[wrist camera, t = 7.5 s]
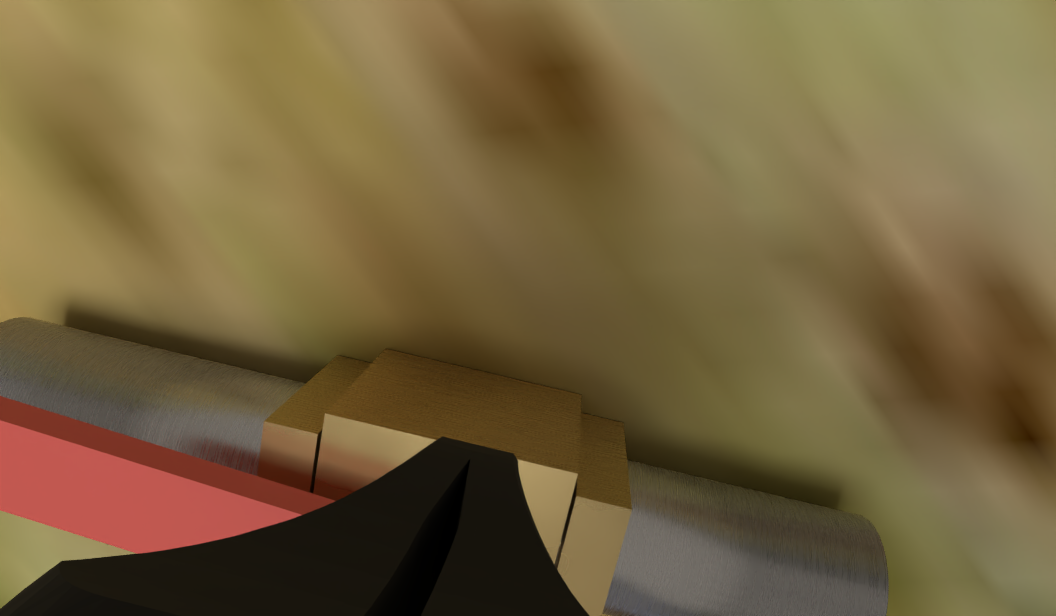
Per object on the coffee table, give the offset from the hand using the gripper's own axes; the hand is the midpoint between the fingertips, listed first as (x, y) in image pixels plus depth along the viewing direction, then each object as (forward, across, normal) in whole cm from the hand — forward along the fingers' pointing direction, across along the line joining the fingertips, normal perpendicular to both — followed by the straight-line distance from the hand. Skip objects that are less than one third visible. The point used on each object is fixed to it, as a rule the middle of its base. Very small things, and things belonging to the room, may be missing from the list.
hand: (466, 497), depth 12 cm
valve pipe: (+10, +1, +5) cm, 12 cm away
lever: (+5, +6, +5) cm, 9 cm away
